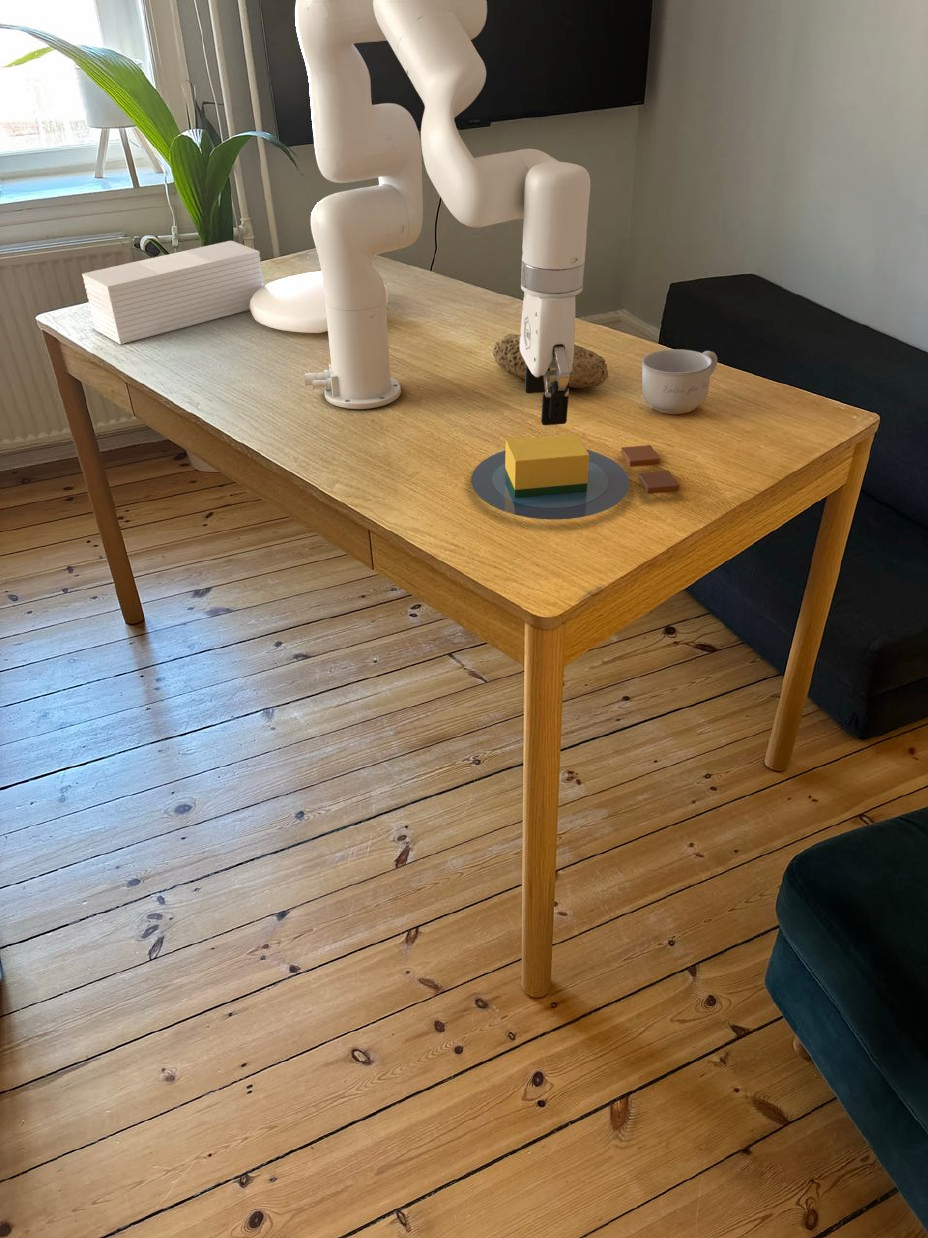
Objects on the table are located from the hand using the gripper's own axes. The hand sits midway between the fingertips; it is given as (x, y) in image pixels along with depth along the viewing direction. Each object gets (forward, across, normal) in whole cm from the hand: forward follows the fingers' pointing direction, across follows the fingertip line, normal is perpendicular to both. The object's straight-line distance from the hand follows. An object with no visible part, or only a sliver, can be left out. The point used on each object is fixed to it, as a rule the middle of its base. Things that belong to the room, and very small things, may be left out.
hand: (544, 407), depth 129 cm
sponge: (+13, -37, +10) cm, 41 cm away
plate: (+14, -78, -26) cm, 84 cm away
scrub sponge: (+11, +1, 0) cm, 11 cm away
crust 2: (+12, +4, +16) cm, 20 cm away
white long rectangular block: (+15, -82, -54) cm, 99 cm away
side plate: (+12, 0, +1) cm, 12 cm away
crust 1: (+12, -4, +16) cm, 20 cm away
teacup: (+13, -23, +28) cm, 39 cm away
